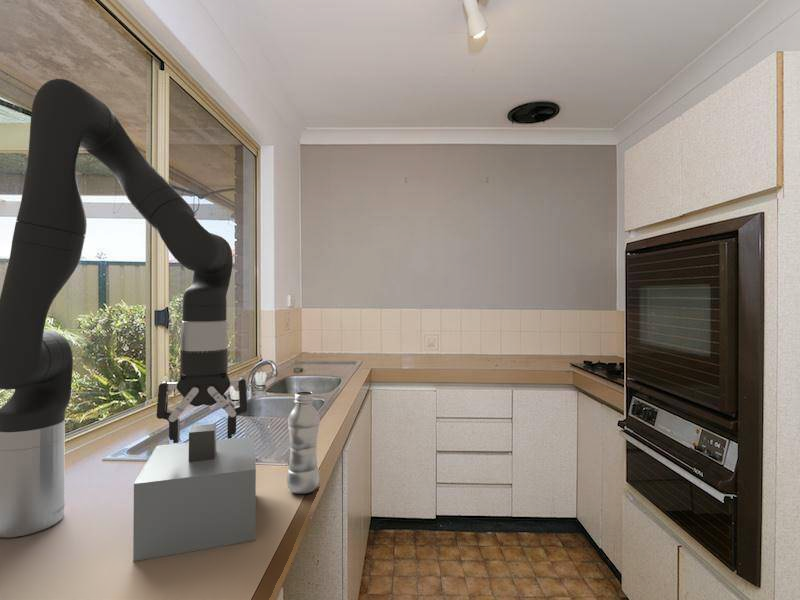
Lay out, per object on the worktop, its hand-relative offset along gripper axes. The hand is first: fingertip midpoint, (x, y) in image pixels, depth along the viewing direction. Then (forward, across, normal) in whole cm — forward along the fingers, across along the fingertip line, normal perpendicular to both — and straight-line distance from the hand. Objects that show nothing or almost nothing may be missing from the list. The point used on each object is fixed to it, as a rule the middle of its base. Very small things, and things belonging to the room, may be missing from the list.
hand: (203, 439), depth 74 cm
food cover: (+15, 0, 0) cm, 15 cm away
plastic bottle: (+15, +18, +7) cm, 24 cm away
